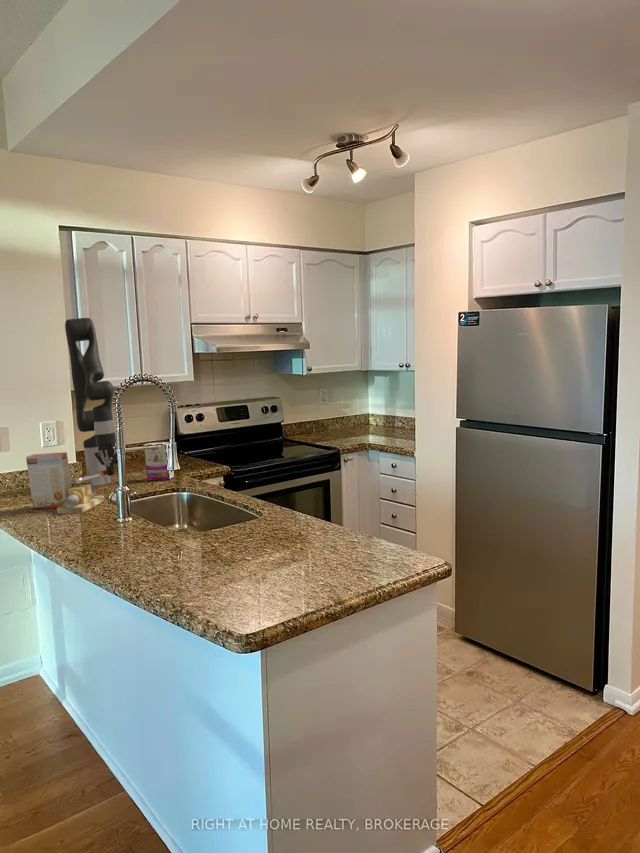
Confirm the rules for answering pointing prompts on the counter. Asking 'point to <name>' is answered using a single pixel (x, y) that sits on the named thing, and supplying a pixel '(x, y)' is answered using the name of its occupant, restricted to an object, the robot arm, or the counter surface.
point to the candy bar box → (157, 461)
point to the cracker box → (48, 479)
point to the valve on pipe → (80, 499)
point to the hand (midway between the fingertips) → (110, 475)
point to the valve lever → (90, 476)
